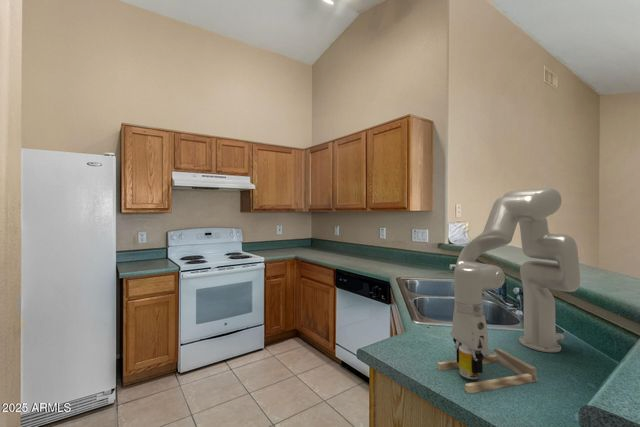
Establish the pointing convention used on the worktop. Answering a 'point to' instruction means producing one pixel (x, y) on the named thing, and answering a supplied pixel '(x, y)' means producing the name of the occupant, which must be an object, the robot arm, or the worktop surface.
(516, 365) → the wooden frame
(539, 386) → the worktop surface
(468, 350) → the supplement bottle
